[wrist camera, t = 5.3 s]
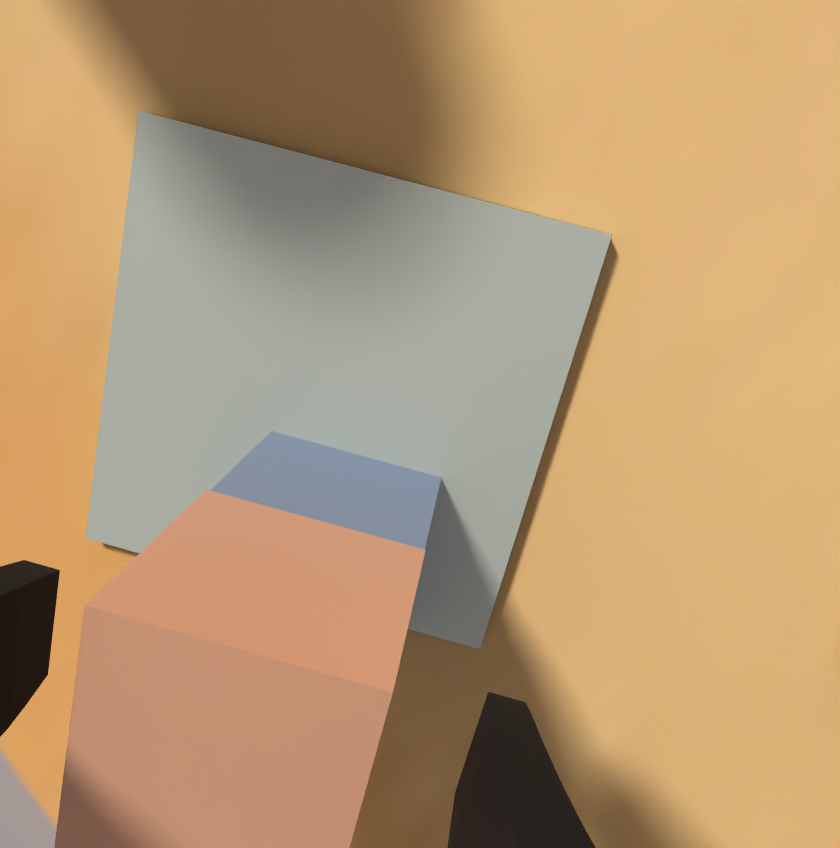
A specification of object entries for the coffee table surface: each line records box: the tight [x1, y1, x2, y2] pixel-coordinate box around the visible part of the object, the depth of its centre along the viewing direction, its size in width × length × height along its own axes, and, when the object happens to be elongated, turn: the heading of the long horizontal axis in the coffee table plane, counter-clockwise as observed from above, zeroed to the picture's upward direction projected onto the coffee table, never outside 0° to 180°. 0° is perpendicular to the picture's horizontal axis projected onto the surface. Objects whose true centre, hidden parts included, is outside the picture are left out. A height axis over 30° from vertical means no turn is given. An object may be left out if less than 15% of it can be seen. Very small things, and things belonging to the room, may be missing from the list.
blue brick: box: [210, 431, 441, 550], centre depth 16 cm, size 4×4×4 cm
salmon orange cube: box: [55, 489, 426, 848], centre depth 12 cm, size 4×4×4 cm
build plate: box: [86, 111, 612, 649], centre depth 17 cm, size 10×10×1 cm
